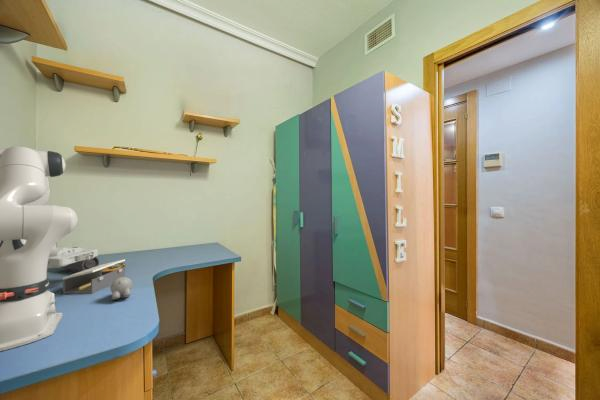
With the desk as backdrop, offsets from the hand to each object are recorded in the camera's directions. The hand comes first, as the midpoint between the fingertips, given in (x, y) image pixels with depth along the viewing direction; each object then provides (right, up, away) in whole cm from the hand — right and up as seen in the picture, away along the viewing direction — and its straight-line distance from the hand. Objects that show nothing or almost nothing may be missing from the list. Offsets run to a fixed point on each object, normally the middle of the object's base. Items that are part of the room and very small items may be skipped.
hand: (91, 257), depth 111 cm
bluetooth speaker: (-28, -14, +22) cm, 38 cm away
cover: (+2, -6, 0) cm, 6 cm away
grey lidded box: (+2, -13, 0) cm, 14 cm away
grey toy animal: (+24, -14, -13) cm, 31 cm away
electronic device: (-7, -14, +22) cm, 27 cm away
